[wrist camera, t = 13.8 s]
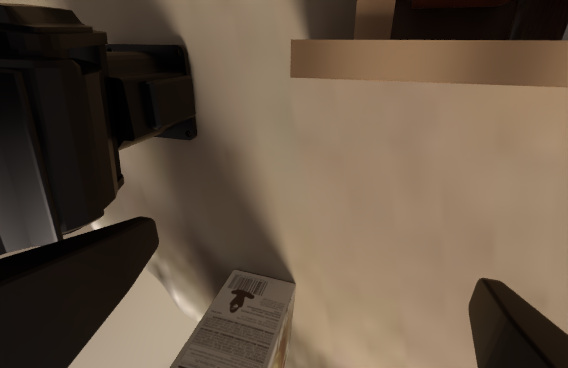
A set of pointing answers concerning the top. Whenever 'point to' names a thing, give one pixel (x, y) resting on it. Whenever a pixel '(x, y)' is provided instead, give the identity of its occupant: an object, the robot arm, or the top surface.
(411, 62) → the wooden display stand
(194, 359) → the coffee box
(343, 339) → the top surface
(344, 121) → the top surface
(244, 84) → the top surface
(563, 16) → the bookend
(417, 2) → the block
